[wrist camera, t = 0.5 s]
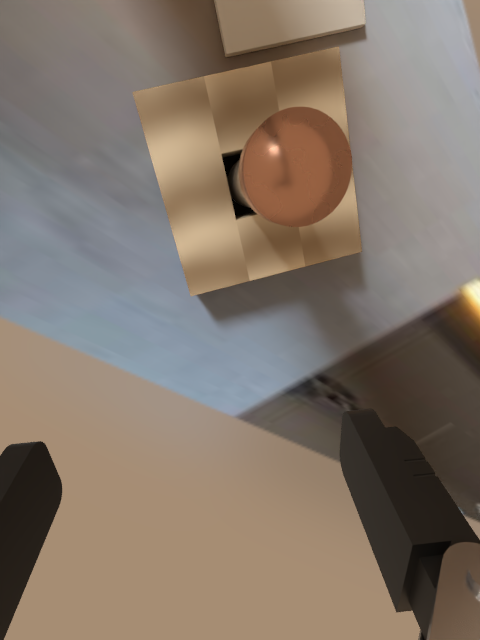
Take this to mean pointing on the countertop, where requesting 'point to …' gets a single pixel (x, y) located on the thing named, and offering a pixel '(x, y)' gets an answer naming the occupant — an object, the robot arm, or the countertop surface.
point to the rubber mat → (283, 21)
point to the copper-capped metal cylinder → (293, 168)
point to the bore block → (229, 139)
